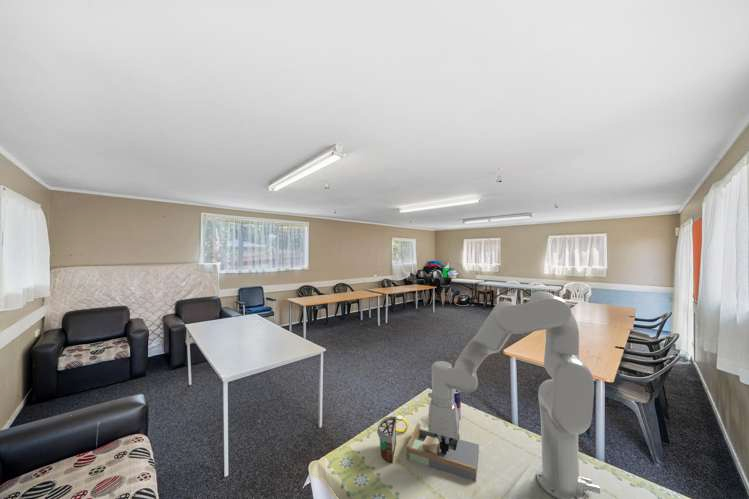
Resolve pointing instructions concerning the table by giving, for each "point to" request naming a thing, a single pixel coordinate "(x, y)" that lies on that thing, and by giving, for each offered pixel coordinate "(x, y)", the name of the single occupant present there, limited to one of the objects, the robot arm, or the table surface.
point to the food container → (387, 438)
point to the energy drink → (457, 402)
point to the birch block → (431, 445)
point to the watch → (401, 420)
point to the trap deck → (455, 461)
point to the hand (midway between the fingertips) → (444, 451)
